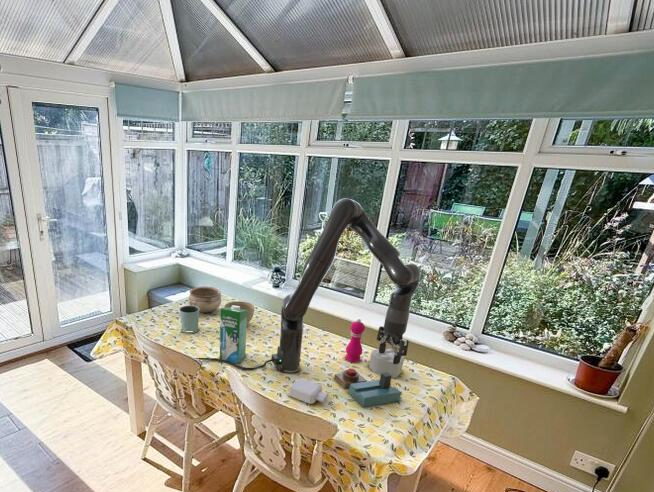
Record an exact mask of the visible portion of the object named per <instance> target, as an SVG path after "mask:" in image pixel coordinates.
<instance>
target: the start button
mask: <svg viewBox="0 0 654 492" xmlns="http://www.w3.org/2000/svg"><path fill="white" fill-rule="evenodd" d="M347 370H348V371H347V374H348V375H350V376H355V374H356V371H357V370H356V369H354V368H348V369H347Z"/></svg>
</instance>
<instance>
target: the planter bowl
mask: <svg viewBox="0 0 654 492" xmlns="http://www.w3.org/2000/svg"><path fill="white" fill-rule="evenodd" d="M232 305H234V306H240V309H244V310H247V327H248V326H249V324H250V322H251V321H252V319H253V317H254V314H255V308H256V307H255V305H254V304H253V303H251V302H248V301H241V300H235V301H229V302H227V303H225V304H224V305H223V308H225V307H231V306H232Z"/></svg>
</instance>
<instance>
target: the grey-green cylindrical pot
mask: <svg viewBox="0 0 654 492" xmlns="http://www.w3.org/2000/svg"><path fill="white" fill-rule="evenodd" d="M178 311H179V317H180V323H181V331H182V332H183V333H185V334H195V333H197V332H198V331H199V322H200V321H199V317H200V312H199V308H198V307H197V306H190V305H184V306H181V307H180V308H179V310H178ZM182 329H183V330H184V331H183V330H182ZM197 329H198V330H197ZM186 331H193V332H186Z"/></svg>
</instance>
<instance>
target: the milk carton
mask: <svg viewBox="0 0 654 492" xmlns="http://www.w3.org/2000/svg"><path fill="white" fill-rule="evenodd" d="M219 313H220V316H219V317H220V319H219V321H220V323H219V325H220V326H219V331H220V332H219V359H222V360H226V361H230V362H232V363H234V364H236V365H238V364H239V363H241V361H242V360H243V359H244V357H246V350H247V349H246V348H247V347H246V346H247V327H248V326H247V310H244V309H240V306H234V305H232V306H231V307H225V308H224V307H221V308H220V312H219Z"/></svg>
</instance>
